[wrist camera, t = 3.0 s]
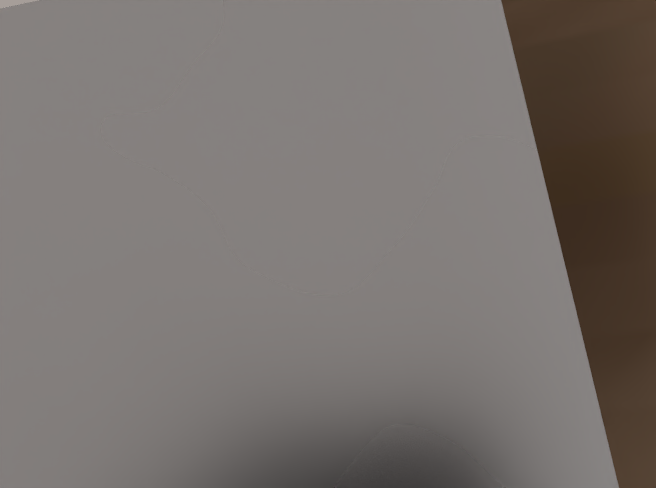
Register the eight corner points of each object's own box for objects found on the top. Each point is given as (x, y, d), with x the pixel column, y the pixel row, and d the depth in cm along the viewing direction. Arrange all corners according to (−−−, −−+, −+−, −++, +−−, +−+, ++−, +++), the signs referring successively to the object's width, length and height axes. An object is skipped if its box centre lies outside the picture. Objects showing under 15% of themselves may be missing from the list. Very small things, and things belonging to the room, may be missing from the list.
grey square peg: (464, 446, 16) (635, 563, 3) (298, 465, 16) (-116, 633, 4) (435, 281, 17) (477, -92, 4) (282, 304, 17) (-65, 21, 5)
